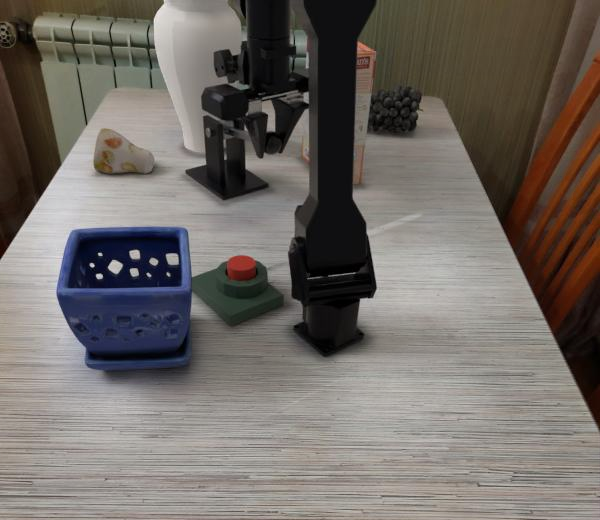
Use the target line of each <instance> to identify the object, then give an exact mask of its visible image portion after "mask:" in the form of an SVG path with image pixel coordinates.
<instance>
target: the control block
mask: <svg viewBox="0 0 600 520" xmlns="http://www.w3.org/2000/svg"><path fill="white" fill-rule="evenodd" d="M254 260H255V262H256V276H255V278H253V279H250V280H248V281H236V280H233V279H230V278H229V277H228V271H227V261H228V260H225V261H223V262H221V263H220V264H219V265H218V266H217V267H216V268H214V269H210V270H208V271H205V272H202V273H199V274H197V275H194V276H192V293H194V294H195V295H196V296H197V297H198V298H199V299H200V300H202V302H204V303H205V304H206V305H207V306H208V307H209V308H210V309H211V310H212V311H213V312H215V314H217V315H218V316H219V317H220V318H221V319H222V320H223V321H224V322H225V323H226V324H227V325H229V327H234V326H236V325H240V324H241V323H244V322H246V321H249V320H251V319H253V318H256V317H258V316H262V315H263V314H266V313H269V312H271V311H273V310H276V309H278V308H281V307H282V306H284V293H282V292H281V291H279V290H278V289H277V288H276V287H275V286H273V285H272V284H271V283H270V282H269V276H268V275H269V274H268V268H267V266H266V265H264V264H263V263H261V262H260V261H258V260H256V259H254Z"/></svg>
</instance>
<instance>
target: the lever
mask: <svg viewBox="0 0 600 520" xmlns="http://www.w3.org/2000/svg"><path fill="white" fill-rule="evenodd" d="M217 121H219V122H221V123H222V124H223V140H225V139H229V138H233V137H236V138H240V139H243V140H245V142H246V141H247V142H249V143H252V141H251V139H250V136H249V133H248V131H247V130H246V129H245V130H241V129H238V128H234V122H233V121H231V120H228V121H226V120H221V119H220V120H217ZM281 146H282V141H281V138H280V136H279V135H278V134H277V133H276V132H275V130H274V131H273V130H267V134H266V145H265V152H264V154H266V155H268V156H274V155H276V154H279V153H278V152H279V150H280V149H281Z"/></svg>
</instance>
